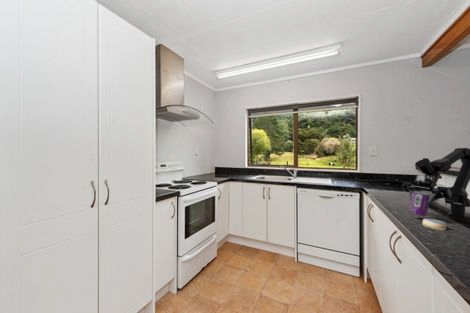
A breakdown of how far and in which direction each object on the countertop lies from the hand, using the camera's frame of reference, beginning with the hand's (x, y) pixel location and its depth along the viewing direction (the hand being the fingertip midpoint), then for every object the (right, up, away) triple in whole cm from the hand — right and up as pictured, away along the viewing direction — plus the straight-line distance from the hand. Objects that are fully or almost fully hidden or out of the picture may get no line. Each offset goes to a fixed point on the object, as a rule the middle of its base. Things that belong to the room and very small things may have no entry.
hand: (419, 201), depth 104 cm
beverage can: (+1, -7, +2) cm, 7 cm away
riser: (-1, -10, -8) cm, 13 cm away
